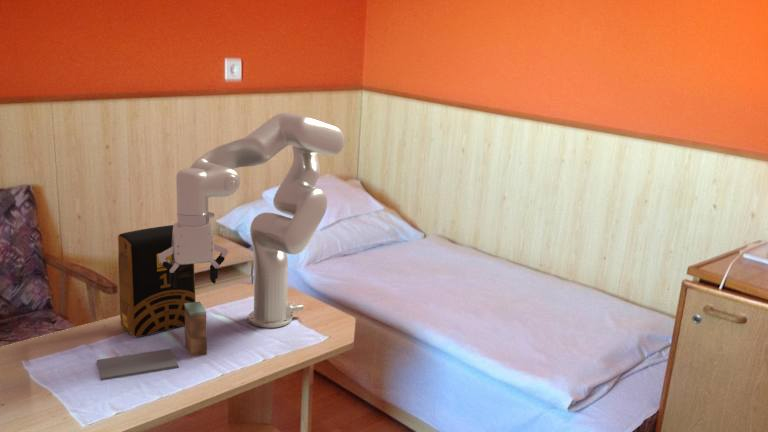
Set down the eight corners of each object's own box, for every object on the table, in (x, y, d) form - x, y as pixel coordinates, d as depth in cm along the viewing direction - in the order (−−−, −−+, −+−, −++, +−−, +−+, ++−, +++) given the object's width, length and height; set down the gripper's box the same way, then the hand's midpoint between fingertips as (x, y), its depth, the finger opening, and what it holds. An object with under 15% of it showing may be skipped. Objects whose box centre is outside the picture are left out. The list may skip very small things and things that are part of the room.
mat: (170, 350, 188) (170, 348, 188) (178, 367, 180) (178, 365, 180) (96, 361, 180) (96, 359, 180) (101, 380, 172) (101, 378, 172)
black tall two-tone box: (199, 323, 205) (198, 228, 198) (132, 340, 193) (128, 239, 185) (183, 310, 213) (180, 219, 205) (117, 326, 201) (112, 229, 193)
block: (200, 343, 193) (199, 301, 190) (206, 354, 187) (206, 311, 184) (185, 345, 191) (184, 303, 188) (191, 357, 185) (190, 313, 182)
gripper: (223, 212, 187) (224, 275, 191) (154, 217, 179) (156, 282, 184) (231, 220, 180) (231, 285, 185) (159, 225, 173) (161, 292, 177)
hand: (193, 283), depth 184 cm, fingers open, 9 cm apart
